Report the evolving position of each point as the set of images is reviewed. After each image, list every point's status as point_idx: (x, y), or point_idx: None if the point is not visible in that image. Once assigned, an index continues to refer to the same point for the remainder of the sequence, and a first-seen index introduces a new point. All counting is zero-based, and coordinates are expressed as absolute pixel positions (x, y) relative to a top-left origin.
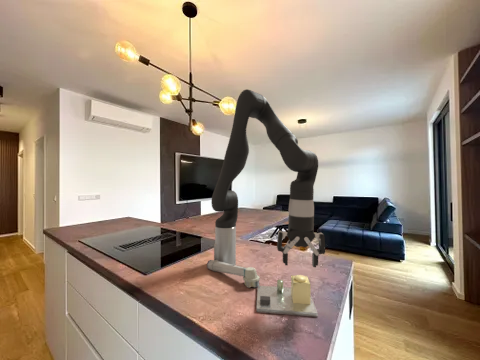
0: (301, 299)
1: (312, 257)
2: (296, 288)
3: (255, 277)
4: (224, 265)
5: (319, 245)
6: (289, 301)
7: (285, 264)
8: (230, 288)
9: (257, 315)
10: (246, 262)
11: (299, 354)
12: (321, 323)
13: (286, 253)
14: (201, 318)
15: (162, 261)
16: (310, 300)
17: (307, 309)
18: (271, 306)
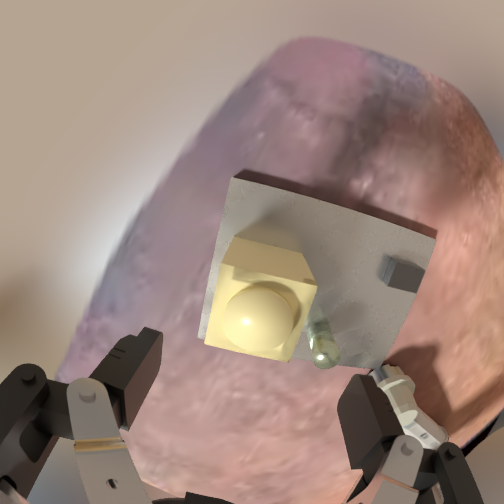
0: (270, 249)
1: (140, 402)
2: (297, 271)
3: (389, 391)
4: (435, 434)
5: (39, 452)
6: (313, 265)
7: (372, 377)
8: (443, 359)
9: (432, 220)
10: (333, 471)
11: (363, 49)
12: (238, 140)
13: (385, 443)
14: None
15: (488, 433)
16: (221, 260)
17: (262, 203)
18: (391, 243)
